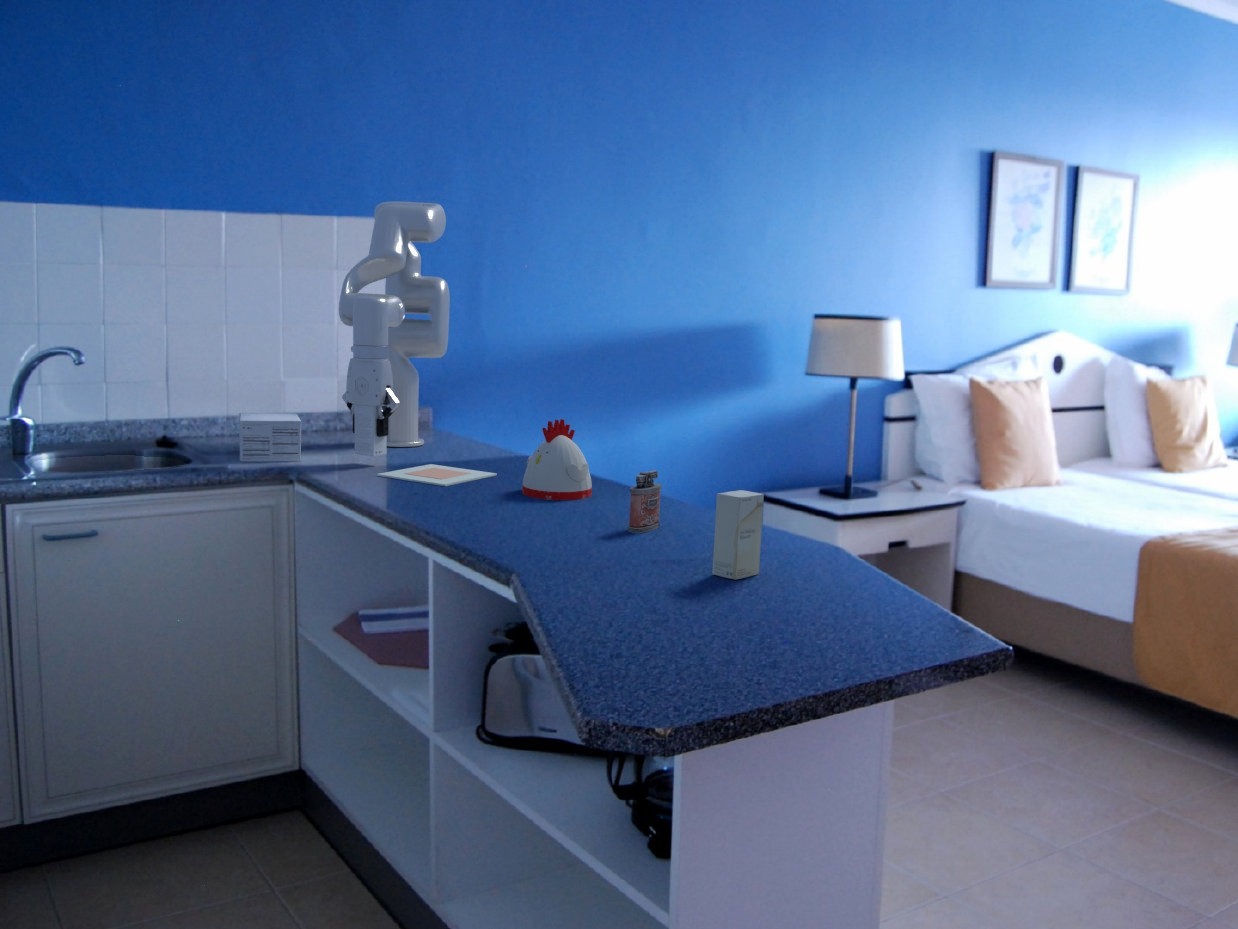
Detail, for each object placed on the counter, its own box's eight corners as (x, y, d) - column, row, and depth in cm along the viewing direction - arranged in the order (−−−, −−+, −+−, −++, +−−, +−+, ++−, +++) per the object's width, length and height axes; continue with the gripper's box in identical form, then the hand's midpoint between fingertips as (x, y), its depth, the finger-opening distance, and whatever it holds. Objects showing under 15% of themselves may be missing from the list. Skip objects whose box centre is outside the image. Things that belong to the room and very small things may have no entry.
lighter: (640, 534, 181) (643, 475, 180) (623, 531, 183) (626, 473, 182) (663, 526, 188) (666, 470, 187) (647, 523, 190) (650, 468, 188)
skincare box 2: (735, 581, 154) (740, 497, 152) (710, 574, 156) (715, 493, 155) (760, 574, 158) (765, 493, 156) (735, 568, 161) (740, 488, 159)
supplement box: (302, 462, 239) (302, 420, 238) (239, 462, 235) (239, 420, 233) (297, 451, 255) (297, 411, 253) (239, 451, 250) (238, 411, 249)
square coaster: (376, 475, 225) (376, 473, 225) (430, 465, 241) (430, 463, 241) (445, 486, 217) (445, 483, 217) (496, 475, 232) (496, 473, 232)
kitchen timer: (508, 491, 214) (510, 417, 212) (557, 485, 224) (560, 414, 222) (556, 503, 205) (558, 425, 203) (605, 495, 215) (608, 421, 213)
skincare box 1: (387, 454, 238) (387, 401, 236) (373, 457, 235) (373, 403, 233) (367, 451, 242) (367, 398, 239) (353, 453, 238) (353, 400, 236)
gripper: (328, 350, 235) (329, 431, 238) (389, 357, 227) (389, 440, 230) (352, 349, 241) (352, 428, 245) (412, 355, 233) (412, 436, 237)
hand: (370, 433), depth 237 cm, fingers closed on skincare box 1, 6 cm apart
